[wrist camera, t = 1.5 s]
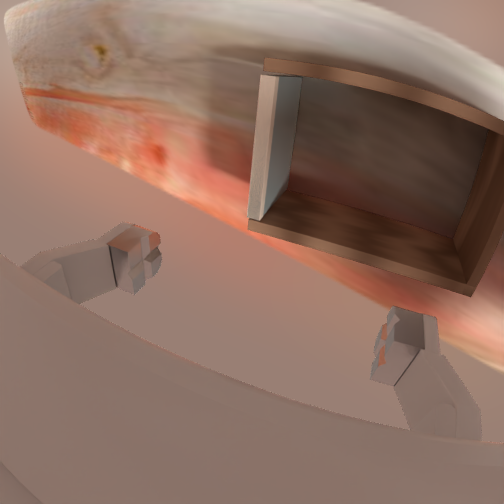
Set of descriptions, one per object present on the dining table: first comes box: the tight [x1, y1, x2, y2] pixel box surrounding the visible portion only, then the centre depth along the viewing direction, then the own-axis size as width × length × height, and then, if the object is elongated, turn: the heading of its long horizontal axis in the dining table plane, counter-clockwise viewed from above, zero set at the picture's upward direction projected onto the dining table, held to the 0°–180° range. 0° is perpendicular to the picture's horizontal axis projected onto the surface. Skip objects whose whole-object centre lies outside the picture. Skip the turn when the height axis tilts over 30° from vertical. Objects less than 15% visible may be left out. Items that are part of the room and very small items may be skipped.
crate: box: [248, 58, 504, 297], centre depth 23 cm, size 20×14×8 cm
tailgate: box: [247, 75, 303, 221], centre depth 26 cm, size 1×11×8 cm, turn 175°
